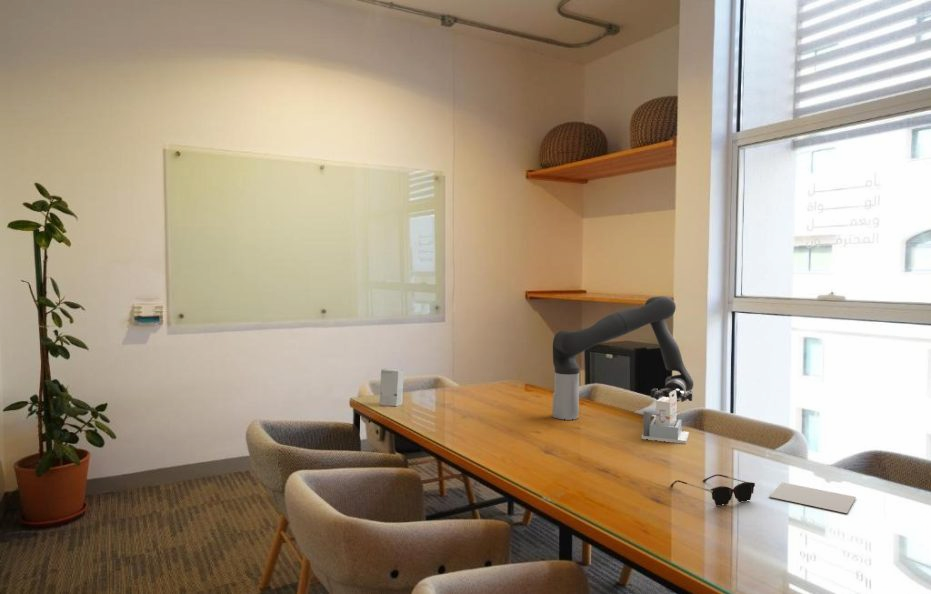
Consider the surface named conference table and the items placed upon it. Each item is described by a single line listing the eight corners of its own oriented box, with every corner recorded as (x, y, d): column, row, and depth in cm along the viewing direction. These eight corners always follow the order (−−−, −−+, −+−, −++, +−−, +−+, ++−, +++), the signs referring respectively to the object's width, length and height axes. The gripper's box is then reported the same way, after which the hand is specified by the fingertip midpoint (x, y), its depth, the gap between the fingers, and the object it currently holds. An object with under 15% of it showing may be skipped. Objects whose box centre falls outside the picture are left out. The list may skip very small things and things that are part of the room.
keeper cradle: (641, 438, 210) (642, 412, 210) (646, 430, 222) (647, 405, 222) (685, 443, 204) (686, 416, 204) (688, 434, 216) (689, 408, 216)
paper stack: (790, 476, 173) (790, 473, 173) (900, 497, 157) (900, 494, 157) (768, 499, 155) (768, 496, 155) (890, 525, 139) (890, 522, 139)
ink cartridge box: (662, 429, 219) (662, 387, 218) (676, 431, 216) (677, 389, 216) (654, 434, 212) (655, 391, 211) (669, 437, 209) (670, 393, 208)
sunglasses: (712, 509, 148) (711, 488, 148) (665, 491, 162) (665, 472, 163) (755, 502, 153) (755, 481, 153) (707, 485, 168) (706, 466, 168)
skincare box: (379, 405, 260) (379, 369, 260) (386, 402, 266) (386, 367, 266) (397, 406, 258) (397, 370, 257) (403, 404, 263) (404, 368, 263)
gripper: (655, 379, 240) (649, 385, 225) (694, 381, 234) (691, 389, 219) (654, 398, 240) (648, 406, 225) (694, 401, 234) (690, 410, 219)
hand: (669, 397), depth 222 cm, fingers open, 8 cm apart
